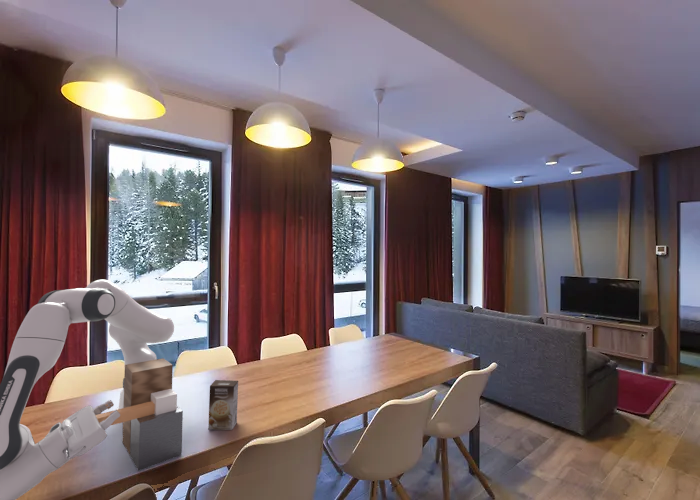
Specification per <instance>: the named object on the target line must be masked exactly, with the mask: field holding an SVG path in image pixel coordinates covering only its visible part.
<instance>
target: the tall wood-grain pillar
mask: <svg viewBox="0 0 700 500" xmlns="http://www.w3.org/2000/svg"><path fill="white" fill-rule="evenodd" d="M173 368H174V366H173V364H172V363H171V362H169V361H168V360H166V359H165V358H164V357H162V358H157V359H156V360H150V361H145V362H139V363H133V364H127V365H125V364H124V377H123V379H124V406H123V408H126V407H130V406H134V405H138V404H142V403H146V402H150V401H151V393H155V392H159V391H163V390H168V389H172V390H173ZM121 437H122V439H121V441H122V444H123V446H124V447H125V449H126V451H127V453H128V455H129V456H130V439H131V420H130V421H126V422H122V436H121Z"/></svg>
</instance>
